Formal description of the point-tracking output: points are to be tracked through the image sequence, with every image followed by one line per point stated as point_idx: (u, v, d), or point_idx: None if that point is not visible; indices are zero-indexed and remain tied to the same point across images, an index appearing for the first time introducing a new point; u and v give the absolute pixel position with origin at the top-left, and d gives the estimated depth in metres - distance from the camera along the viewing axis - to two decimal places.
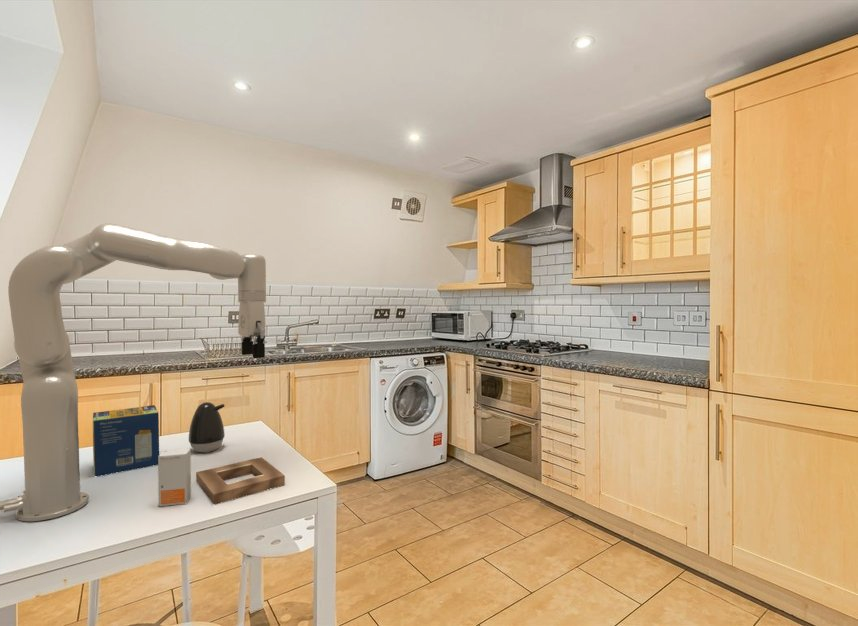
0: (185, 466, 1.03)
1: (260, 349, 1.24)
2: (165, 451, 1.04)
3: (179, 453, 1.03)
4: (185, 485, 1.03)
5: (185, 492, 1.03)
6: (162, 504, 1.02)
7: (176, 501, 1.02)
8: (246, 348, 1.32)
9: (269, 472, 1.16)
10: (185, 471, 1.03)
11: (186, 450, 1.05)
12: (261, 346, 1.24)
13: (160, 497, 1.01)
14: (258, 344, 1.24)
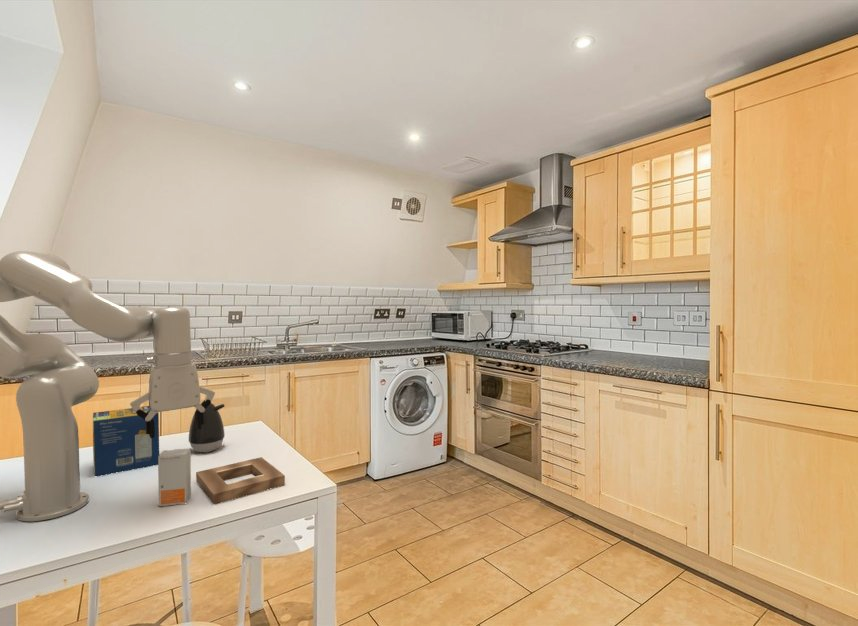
0: (185, 466, 1.03)
1: None
2: (165, 451, 1.04)
3: (179, 453, 1.03)
4: (185, 485, 1.03)
5: (185, 492, 1.03)
6: (162, 504, 1.02)
7: (176, 501, 1.02)
8: None
9: (269, 472, 1.16)
10: (185, 471, 1.03)
11: (186, 450, 1.05)
12: None
13: (160, 497, 1.01)
14: None
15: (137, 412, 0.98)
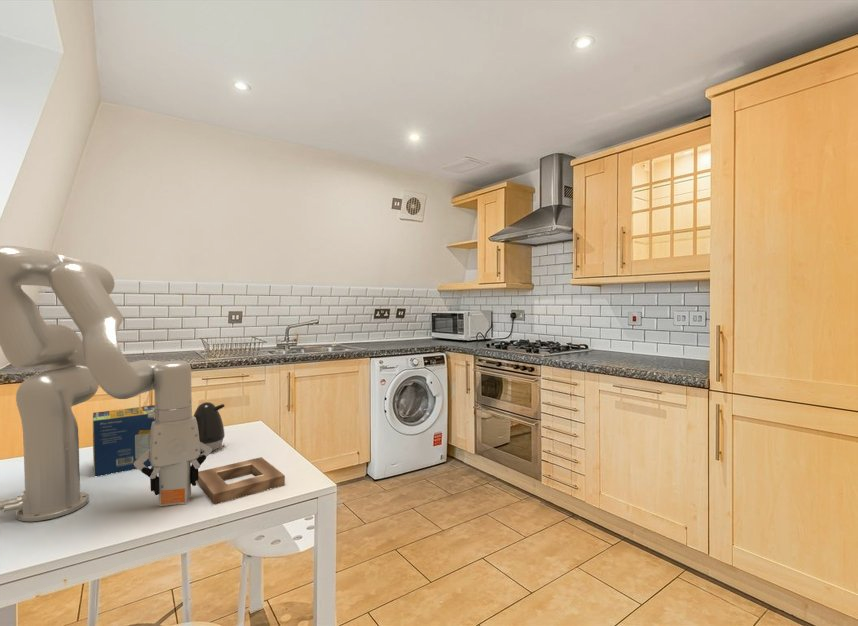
0: (185, 466, 1.03)
1: None
2: None
3: None
4: (185, 485, 1.03)
5: (185, 492, 1.03)
6: (162, 504, 1.02)
7: (176, 501, 1.02)
8: None
9: (269, 472, 1.16)
10: (185, 471, 1.03)
11: None
12: None
13: (160, 497, 1.01)
14: None
15: (142, 470, 0.99)
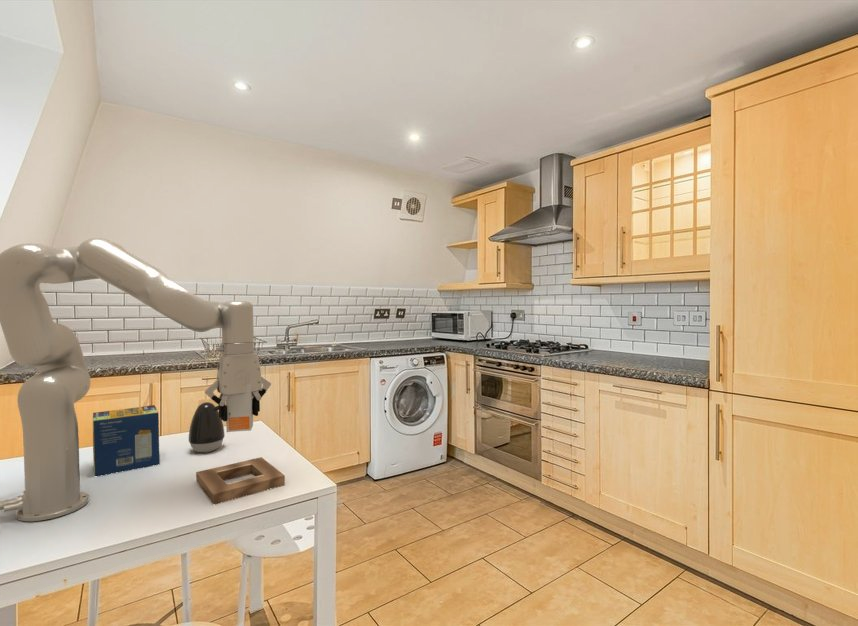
0: (249, 396, 1.13)
1: None
2: None
3: None
4: (250, 413, 1.13)
5: (250, 420, 1.13)
6: (229, 430, 1.12)
7: (242, 428, 1.12)
8: None
9: (269, 472, 1.16)
10: (250, 400, 1.13)
11: None
12: None
13: (227, 423, 1.11)
14: None
15: (213, 398, 1.09)
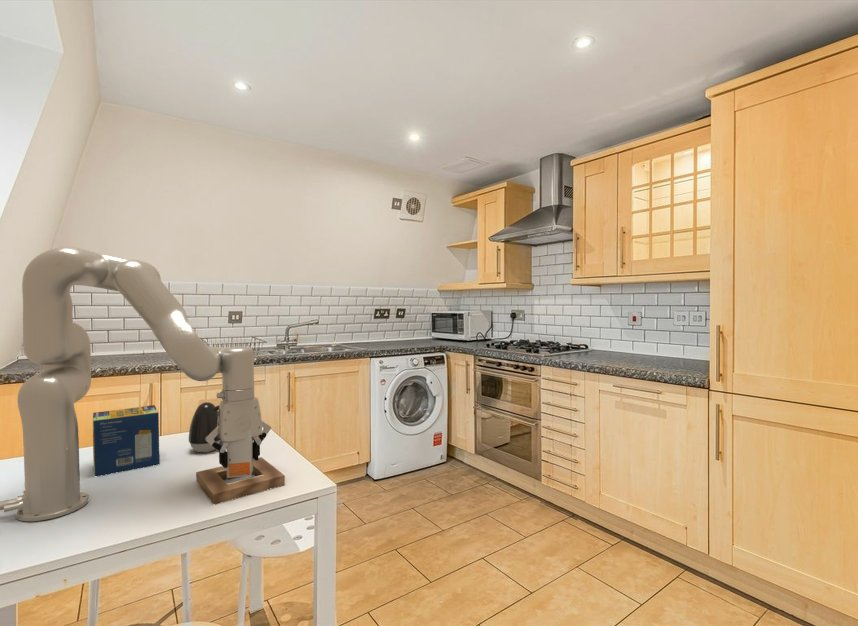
0: (250, 442, 1.13)
1: None
2: None
3: None
4: (250, 459, 1.13)
5: (250, 465, 1.13)
6: (230, 476, 1.12)
7: (242, 473, 1.13)
8: None
9: (269, 472, 1.16)
10: (250, 446, 1.13)
11: None
12: None
13: (228, 470, 1.12)
14: None
15: (213, 445, 1.10)
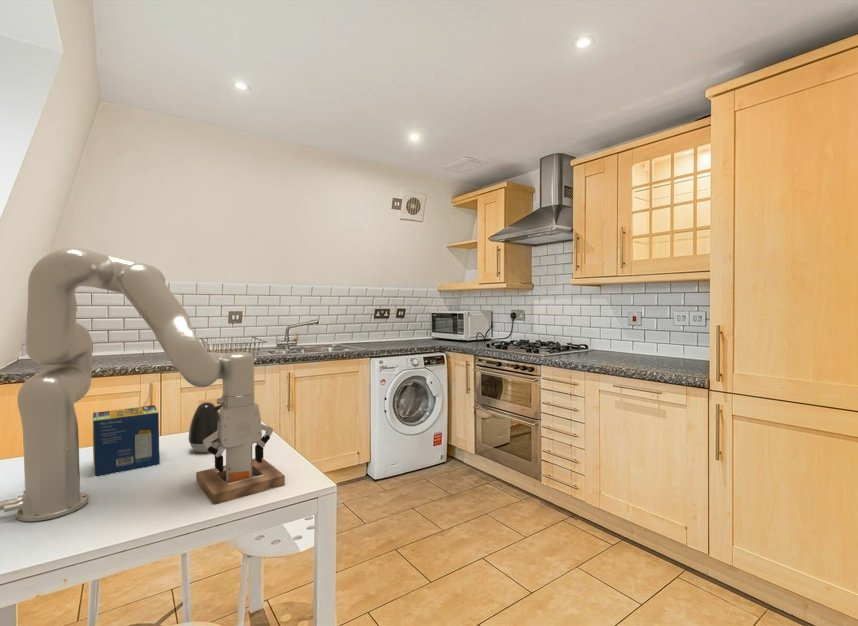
0: (249, 451, 1.13)
1: None
2: None
3: None
4: (249, 468, 1.13)
5: (249, 474, 1.13)
6: None
7: None
8: None
9: (269, 472, 1.16)
10: (249, 455, 1.13)
11: None
12: None
13: (227, 479, 1.12)
14: None
15: (209, 449, 1.09)
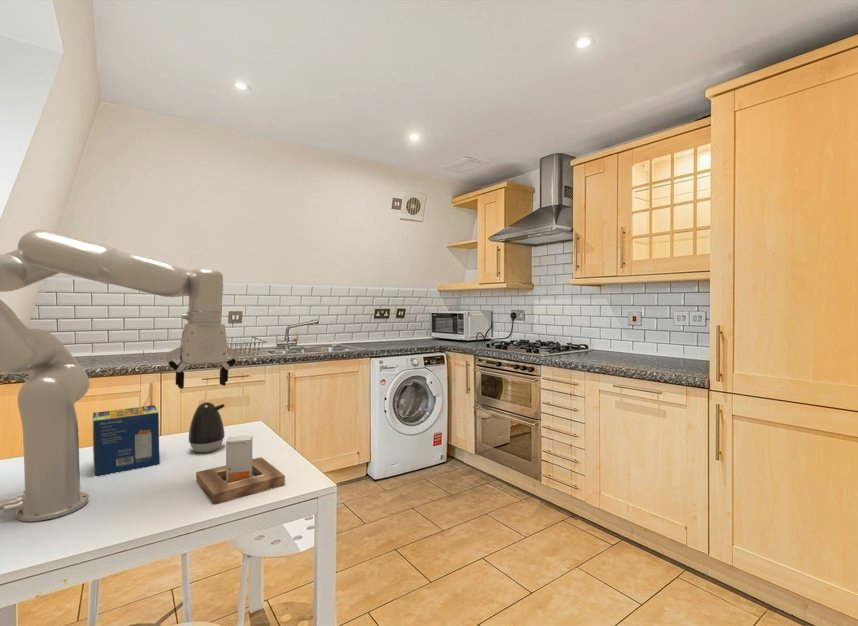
0: (249, 451, 1.13)
1: None
2: (230, 437, 1.14)
3: (244, 439, 1.13)
4: (249, 468, 1.13)
5: (249, 474, 1.13)
6: None
7: None
8: None
9: (269, 472, 1.16)
10: (249, 455, 1.13)
11: (249, 436, 1.15)
12: None
13: (227, 479, 1.12)
14: None
15: (169, 363, 1.06)
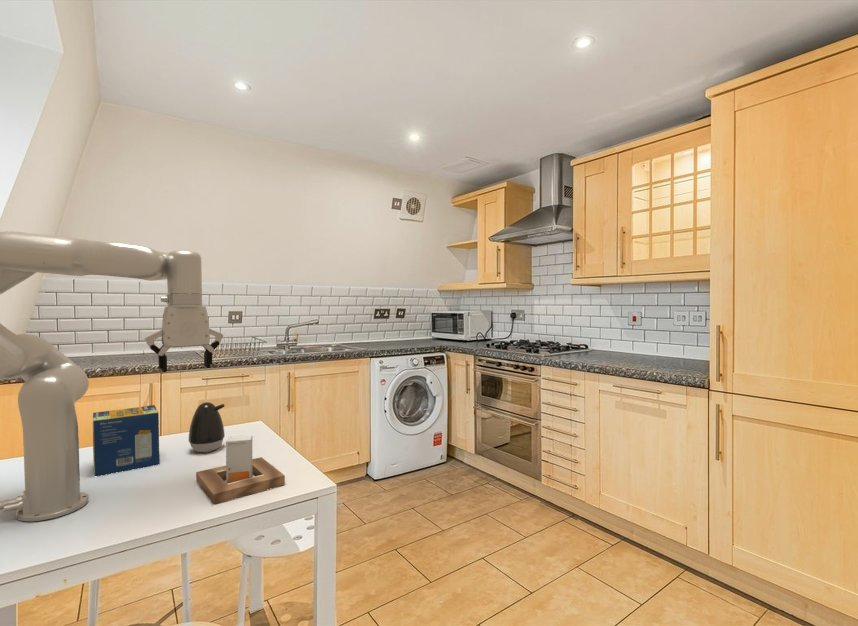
0: (249, 451, 1.13)
1: None
2: (230, 437, 1.14)
3: (244, 439, 1.13)
4: (249, 468, 1.13)
5: (249, 474, 1.13)
6: None
7: None
8: None
9: (269, 472, 1.16)
10: (249, 455, 1.13)
11: (249, 436, 1.15)
12: None
13: (227, 479, 1.12)
14: None
15: (151, 347, 1.05)
